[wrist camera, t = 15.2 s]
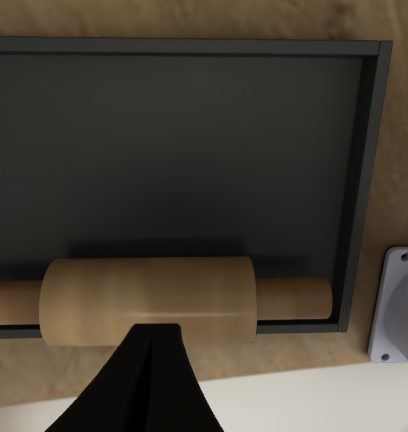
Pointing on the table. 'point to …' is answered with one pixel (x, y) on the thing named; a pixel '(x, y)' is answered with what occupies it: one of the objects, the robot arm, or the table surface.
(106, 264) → the rolling pin
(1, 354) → the table surface
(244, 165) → the pastry tray
